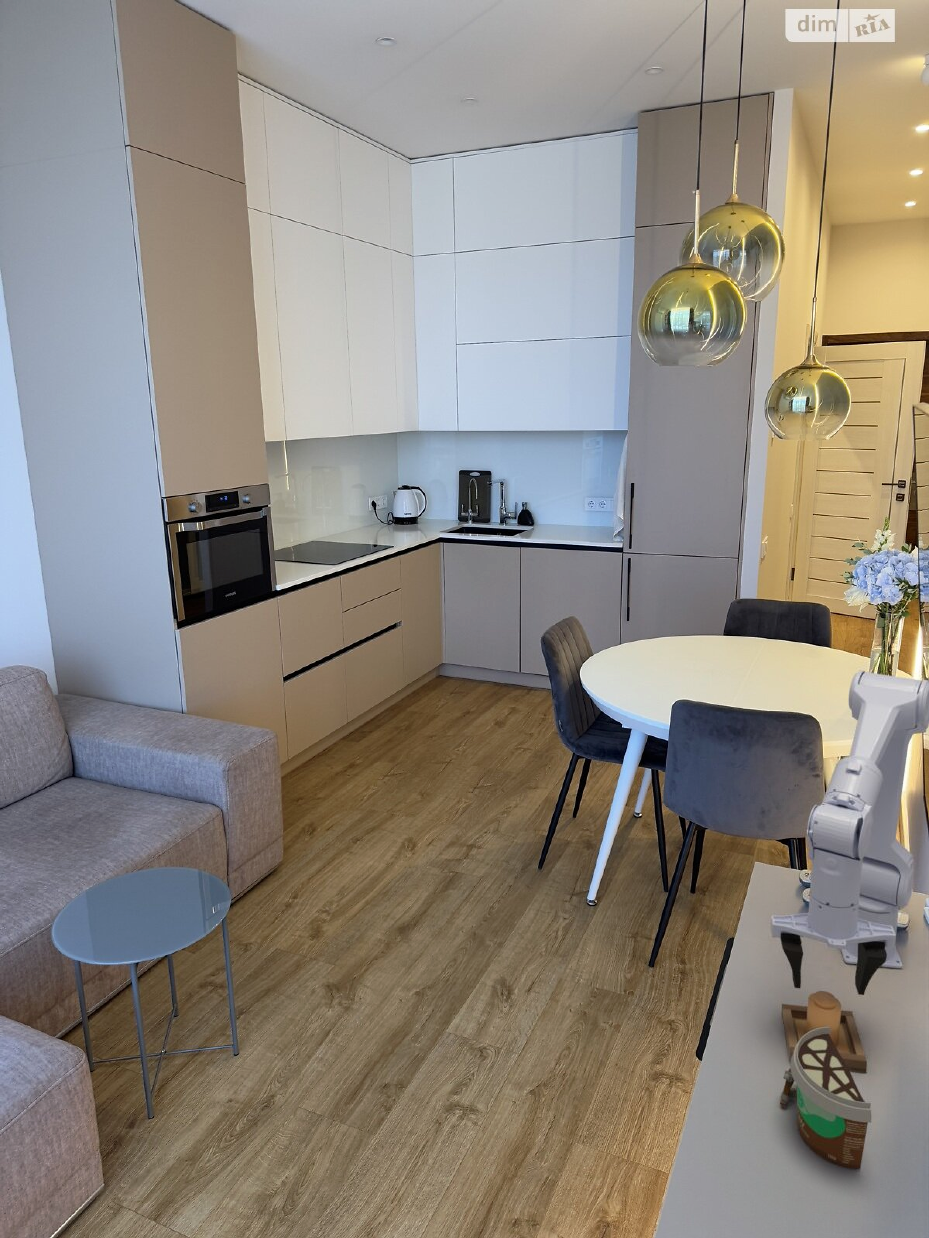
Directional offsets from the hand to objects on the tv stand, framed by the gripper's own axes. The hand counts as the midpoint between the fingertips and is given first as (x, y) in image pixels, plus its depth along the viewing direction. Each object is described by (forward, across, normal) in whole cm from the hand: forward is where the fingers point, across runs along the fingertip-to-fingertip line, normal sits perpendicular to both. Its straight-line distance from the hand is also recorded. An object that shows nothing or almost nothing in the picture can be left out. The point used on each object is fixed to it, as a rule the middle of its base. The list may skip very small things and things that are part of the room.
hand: (827, 986), depth 110 cm
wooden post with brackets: (+9, -4, -9) cm, 13 cm away
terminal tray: (+8, 0, 0) cm, 8 cm away
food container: (+9, -3, -16) cm, 18 cm away
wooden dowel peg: (+8, 0, 0) cm, 8 cm away
